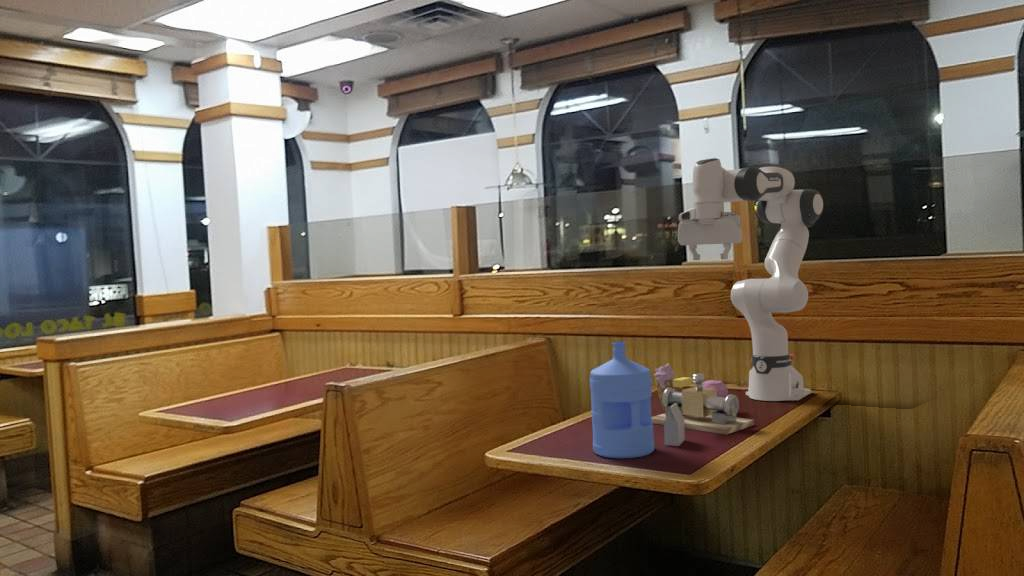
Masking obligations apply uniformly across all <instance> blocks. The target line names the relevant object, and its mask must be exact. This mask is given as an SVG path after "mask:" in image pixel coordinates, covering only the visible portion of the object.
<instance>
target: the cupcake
mask: <svg viewBox="0 0 1024 576" xmlns="http://www.w3.org/2000/svg"><path fill="white" fill-rule="evenodd" d="M704 381H705V382H702V385H703V387H705V388H714V389H717V397H725V398H726V396H727V395H729V389H728V387H727V385H726V384H725V383H723V381H721V380H715V379H709V380H704Z"/></svg>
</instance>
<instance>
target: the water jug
mask: <svg viewBox="0 0 1024 576" xmlns="http://www.w3.org/2000/svg"><path fill="white" fill-rule="evenodd" d="M625 345H626V342H625V341H617V342H616V341H615V342H612V346H613V348H612V352H613V356H612V358H611V359H609V360H608V361H606V362H605V363H602V364H601V365H599V366H597V367H595V368H593V369H592V370H591V371H590V373H589V374H590V376H589V387H590V401H591V402H590V403H591V412H590V415H591V421H592V450H593V452H594V453H595V454H596V455H598V456H600V457H604V458H608V459H634V458H635V459H636V458H643V457H645V456H648V455H650V454H651V453H653V452H654V450H655V440H654V424H653V423H652V419H651V417H652V403H651V402H652V401H651V399H652V398H651V397H652V394H653V393H652V392H653V391H652V386H653V380H652V375H651V374H652V372H651V369H649V368H648V367H646V366H644V365H641V364H639V363H637V362H636V361H632V360H630V359H628V358H627V356H626V346H625Z"/></svg>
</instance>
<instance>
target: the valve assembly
mask: <svg viewBox="0 0 1024 576" xmlns="http://www.w3.org/2000/svg"><path fill="white" fill-rule="evenodd" d="M694 385H695V386H692V387H689V388H684V389H682V390H681V392H680V391H677V389H676V388H675V387H673V388H666V389H665V390H664V392H663V395H662V402H663V405H664V406H665V411H664V413H661V414H658V415H654V416H651V419H652V423H653V425H654V424H655V425H660V426H661V425H662V426H664V421H665V419H666V417H667V415H668V411H669V408H670V407H671V406H672V405H673V404H675V403H677V405H678V407H679V410H680V412H681V414H682V415H683V417H684V429H686V430H687V429H688V430H694V431H699V432H700V431H701V432H706V433H707V432H708V433H714V434H720V435H726V436H727V435H729V434H732V433H734V432H739V431H741V430H744V429H747V428H749V427H752V426H754V424H755V423H754V420H755V419H750V418H742V417H737V414H738V413H739V409H740V401H739V398H738V396H737V395H736V394H729V393H728V395H727V396H726V397H717V389H714V388H705V387H703V385H702V382H699V383H698V382H694Z"/></svg>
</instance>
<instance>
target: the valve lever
mask: <svg viewBox="0 0 1024 576" xmlns="http://www.w3.org/2000/svg"><path fill="white" fill-rule="evenodd" d="M705 381H706V380H705V373H693V374H692V377H687V376H682V377H678V378H674V379H673V388H684V387H688V386H692V385H693V383H695V382H698V383H699V382H705Z"/></svg>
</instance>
